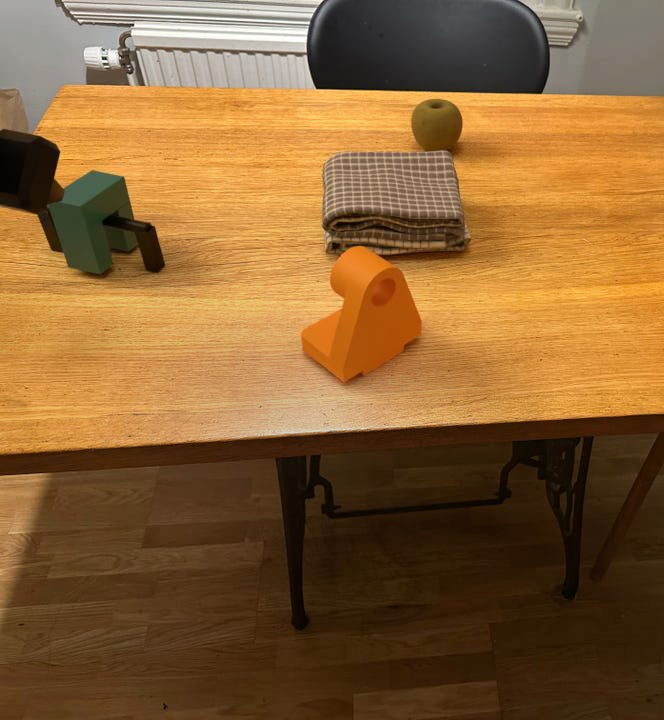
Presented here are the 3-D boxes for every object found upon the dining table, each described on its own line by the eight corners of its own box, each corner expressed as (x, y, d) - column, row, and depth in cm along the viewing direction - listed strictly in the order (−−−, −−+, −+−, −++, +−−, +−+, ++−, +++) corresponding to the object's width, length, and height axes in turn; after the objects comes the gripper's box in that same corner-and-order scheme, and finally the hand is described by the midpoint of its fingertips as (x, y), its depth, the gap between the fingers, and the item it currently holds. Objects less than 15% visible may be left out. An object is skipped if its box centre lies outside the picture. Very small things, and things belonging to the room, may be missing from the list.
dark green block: (100, 274, 78) (80, 206, 72) (68, 267, 78) (45, 198, 73) (140, 242, 84) (124, 176, 78) (109, 235, 84) (91, 169, 79)
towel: (323, 197, 95) (319, 144, 90) (455, 197, 99) (459, 145, 93) (324, 262, 85) (319, 206, 79) (472, 259, 88) (477, 205, 83)
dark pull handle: (158, 273, 80) (145, 227, 76) (50, 249, 82) (32, 204, 77) (165, 265, 81) (153, 220, 77) (59, 242, 83) (42, 197, 79)
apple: (400, 144, 109) (401, 99, 104) (441, 133, 113) (443, 89, 108) (430, 164, 105) (432, 119, 100) (470, 152, 109) (474, 108, 104)
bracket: (376, 308, 79) (374, 217, 71) (421, 340, 76) (424, 248, 68) (299, 352, 73) (287, 257, 65) (344, 388, 70) (338, 293, 62)
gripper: (-1, 37, 50) (127, 122, 66) (-226, -4, 52) (-50, 87, 68) (-37, 187, 50) (100, 236, 65) (-263, 140, 52) (-77, 198, 67)
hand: (18, 186), depth 66 cm, fingers open, 9 cm apart
